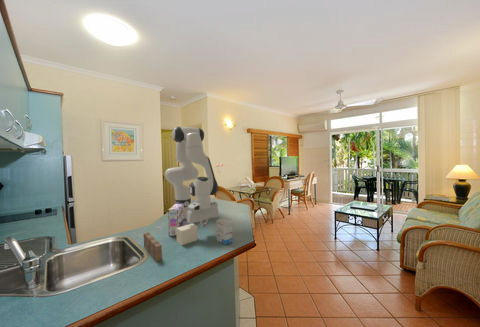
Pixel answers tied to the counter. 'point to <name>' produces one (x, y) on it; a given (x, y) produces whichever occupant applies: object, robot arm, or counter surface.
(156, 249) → the walnut board
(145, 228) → the counter surface
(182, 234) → the cream block
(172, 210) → the candy box
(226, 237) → the ink box
